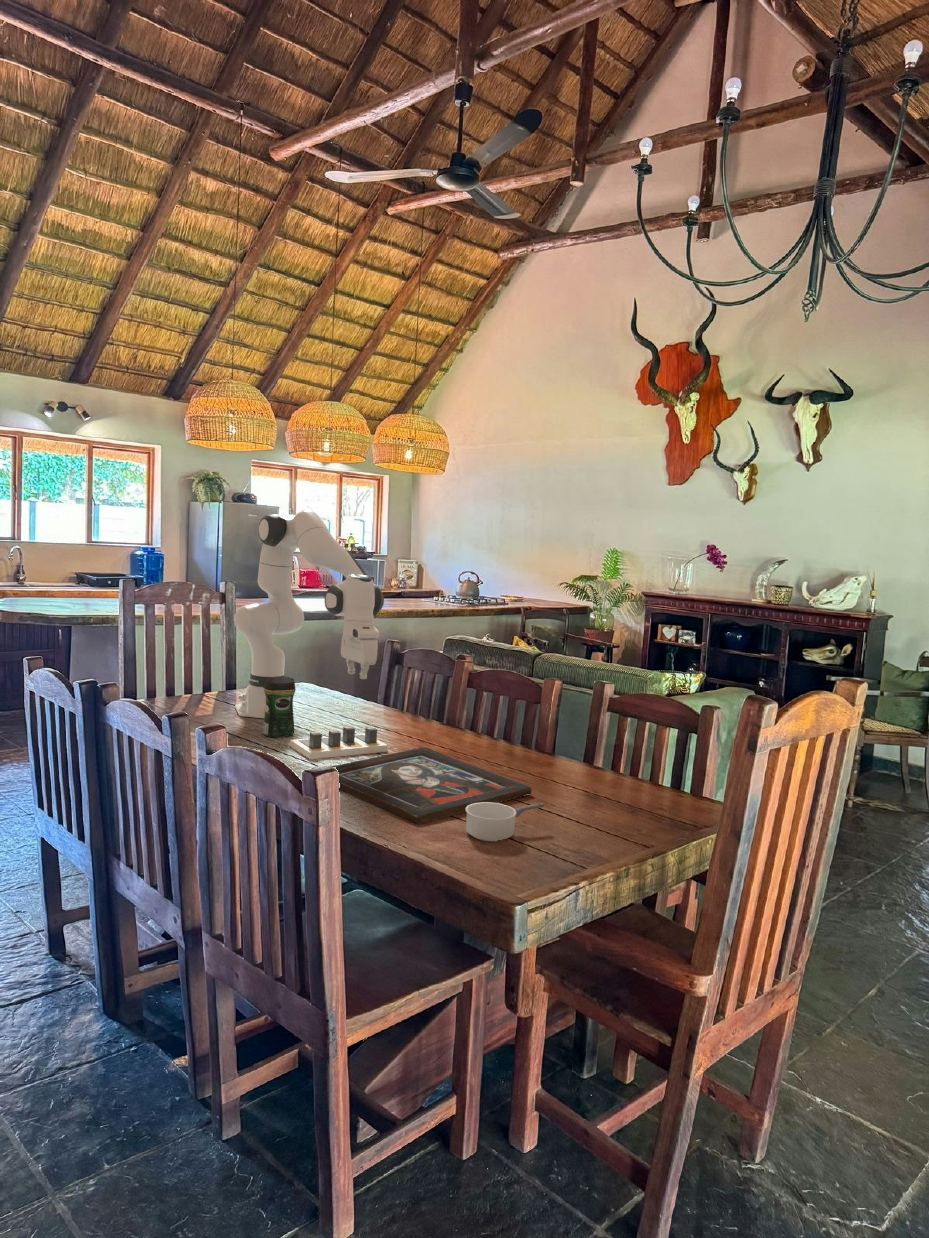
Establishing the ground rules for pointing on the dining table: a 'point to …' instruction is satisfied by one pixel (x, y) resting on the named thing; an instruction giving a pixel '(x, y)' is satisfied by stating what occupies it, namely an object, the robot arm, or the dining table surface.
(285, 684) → the coffee jar
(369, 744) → the panel
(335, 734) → the block
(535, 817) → the dining table surface
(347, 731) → the block
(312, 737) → the block
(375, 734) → the block
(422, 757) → the religious icon
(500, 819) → the saucepan
